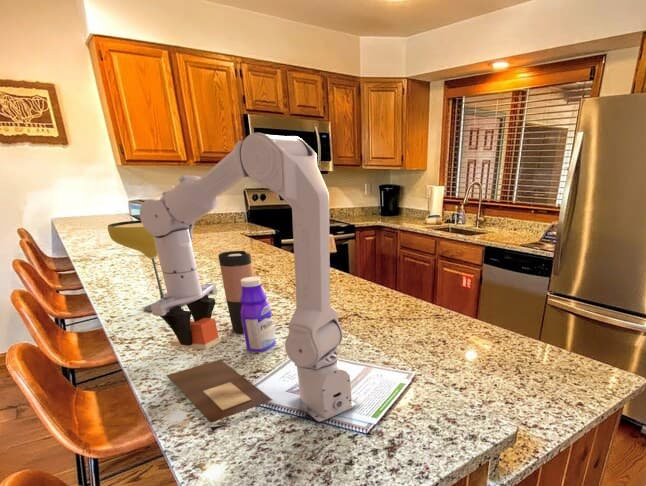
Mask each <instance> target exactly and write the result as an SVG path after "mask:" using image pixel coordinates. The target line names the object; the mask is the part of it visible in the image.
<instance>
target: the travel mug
mask: <svg viewBox="0 0 646 486" xmlns="http://www.w3.org/2000/svg"><path fill="white" fill-rule="evenodd" d="M217 257H218V261H219V267H220V272H221V278H222V284H223V289H224V295H225V300H226V305H227V309H228V313H229V318H230V322H231V328H232V331H233V333H235V334H240V335H242V334H243V335H244V330H243V325H242V320H241V307H242V302H241V301H240V298H241V295H242V286H241V279H243V278H247V277H255V274H254V268H253V262H252V256H251V252H249V253H247V252H246V251H245V250H231V251H230V250H229V251H224V252H220V253H219V254H218V256H217Z"/></svg>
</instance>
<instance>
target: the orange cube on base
mask: <svg viewBox="0 0 646 486" xmlns="http://www.w3.org/2000/svg"><path fill="white" fill-rule="evenodd" d="M190 329H191V335H192V345H190V346H187V345H181V344H180V342H179V340H178V338H177V337H176V338H174V339H171V340H170V341H169V343H170V346H171V347H179V348H185V349H196V350H204V351H206V350H209V349H210V348H212V347H214V346H216V345H217V344H219V343H221V342H222V337H221V336H219V331H218V326H217V322H216V318H212V317H211V318H203V319H201V320H199V321H196V322H194V320H190Z"/></svg>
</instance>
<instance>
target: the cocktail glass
mask: <svg viewBox="0 0 646 486" xmlns="http://www.w3.org/2000/svg"><path fill="white" fill-rule="evenodd" d="M107 232H108V235H109V238H110V240H112V241H113V242H115V243H116V244H118V245H120V246H123V247H126V248H128V249H131V250H135V251H137V252H140V253H142V254H143V255H144V256H145V257H147V258H148V259H149V260H151V262H152V266H153V269H154V270H153V271H154V274H155V277H156V281H157V287H158V290H159V296H160V299H162V298H163V297H165V293H164V291H163V288H162V284H161V280H160V276H159V273H158V270H157V265H156V261H155V259H157V257H158V253H157V249H156V245H155V241H154V237H153V235H152V234H150V233H149V232H148V231H147V230H146V229H145V228H144V226H143V224H142V222H141V219H140V220H139V219H138V220H127V221H119V222H114V223H109V224H108V225H107ZM150 305H151V304H148V305H146V306H145V307H144V310H145V311H146V312H149V313H152V309H151V306H150Z"/></svg>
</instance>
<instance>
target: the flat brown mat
mask: <svg viewBox="0 0 646 486" xmlns="http://www.w3.org/2000/svg"><path fill="white" fill-rule="evenodd" d="M166 377H167V378H168V379H169V380H170V381H171V382H172V383H173V385H175V386H176V388H177V389H178V390H179V391H180V393H182V394H183V395H184V396H185V398H187V399H188V401H190V403H192V405H193V406H194V407H195V408H196V409H197V410H198V411H199V412H200V413H201V414H202V415H203V417H204V418H206V419H207V420H208V422H209V423H210V424H212V423H215V422H218V421H221V420H223V419H226V418H229V417H231V416H233V415H236V414H240V413H242V412H244V411H246V410H249V409H252V408H254V407H258V406H260V405H263V404H265V403H268V402H271V401H273V398H271V397H270V396H269V395H267V394H266V393H265V392H263V391H262V390H261V389H260V388H258V387H257V386H256V385H254V384H253V383H252V382H250V381H249V380H248V379H247V378H245V377H244V376H242V375H241V374H240V372H239V373H238V372H237V371H236V370H235V369H234V368H232V367H231V366H230V365H229V364H227V363H226V362H225V361H223V359H217V360H213V361H210V362H207V363H204V364H203V363H202V364H200V365H197V366H194V367H190V368H187V369H183V370H179V371H176V372H172V373H169V374H166ZM222 427H226V424H223V425H216V426H210V427H209V428H210V429H211V431H215V430H218V429H220V428H222Z"/></svg>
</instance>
